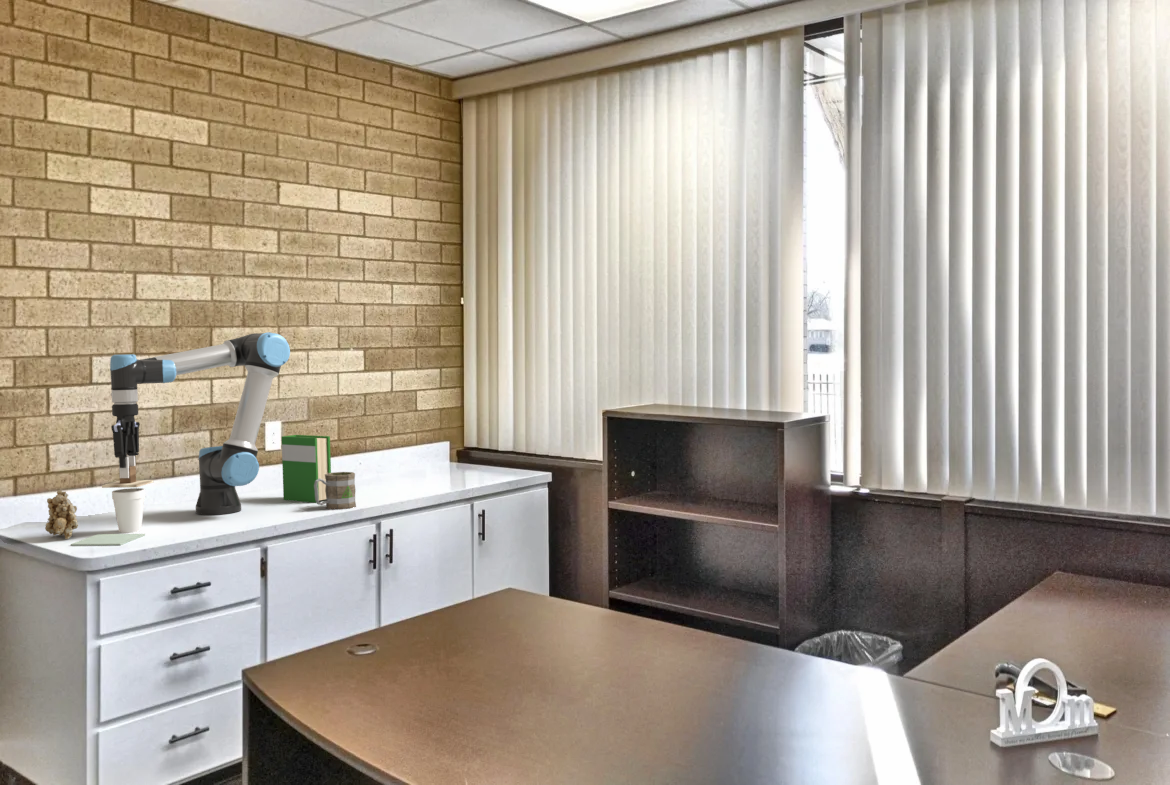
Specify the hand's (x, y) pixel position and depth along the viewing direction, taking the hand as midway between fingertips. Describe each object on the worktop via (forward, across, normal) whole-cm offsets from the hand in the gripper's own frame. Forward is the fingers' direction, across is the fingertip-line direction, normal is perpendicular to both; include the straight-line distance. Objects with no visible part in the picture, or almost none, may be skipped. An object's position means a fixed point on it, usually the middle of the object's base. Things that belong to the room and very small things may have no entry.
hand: (127, 476), depth 312 cm
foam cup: (+17, 0, 0) cm, 17 cm away
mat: (+17, +15, +1) cm, 23 cm away
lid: (+3, 0, 0) cm, 3 cm away
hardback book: (+17, -59, +38) cm, 72 cm away
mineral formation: (+18, +10, -16) cm, 26 cm away
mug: (+17, -40, +54) cm, 69 cm away
